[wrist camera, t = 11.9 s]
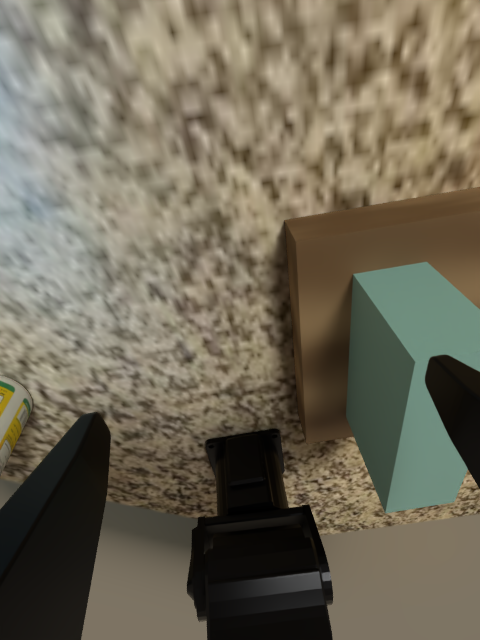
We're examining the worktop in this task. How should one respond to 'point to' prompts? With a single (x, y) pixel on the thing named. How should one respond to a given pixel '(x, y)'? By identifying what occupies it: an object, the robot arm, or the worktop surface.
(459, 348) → the tapered teal post
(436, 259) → the board
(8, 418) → the supplement bottle
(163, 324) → the worktop surface
